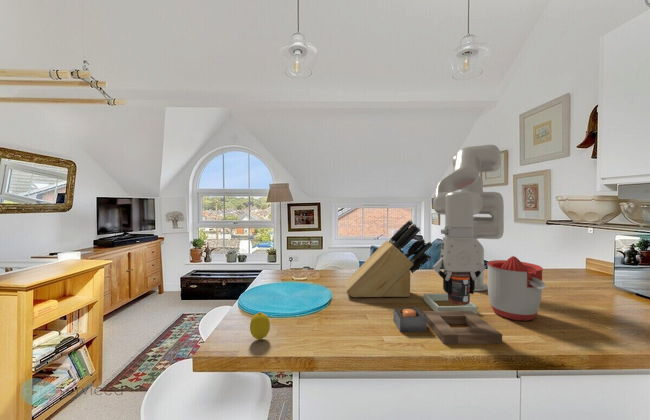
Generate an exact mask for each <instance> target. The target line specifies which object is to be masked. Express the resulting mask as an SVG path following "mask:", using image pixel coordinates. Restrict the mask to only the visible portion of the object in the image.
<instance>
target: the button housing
mask: <svg viewBox="0 0 650 420" xmlns="http://www.w3.org/2000/svg"><path fill="white" fill-rule="evenodd" d="M404 309H412V310H415V311H416V316H409V317H404V316H403V310H404ZM392 316H393V322H394V323H395V325H396V327H397V329H398V331H399V332H400V333H411V332H412V333H419V332H420V333H421V332H426V333H427V332H428V329H427V328H428V324H427V318H426V317H425V316H424V315H423V311H421V310H420V309H419V307H396V308H395V307H393V315H392Z"/></svg>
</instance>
